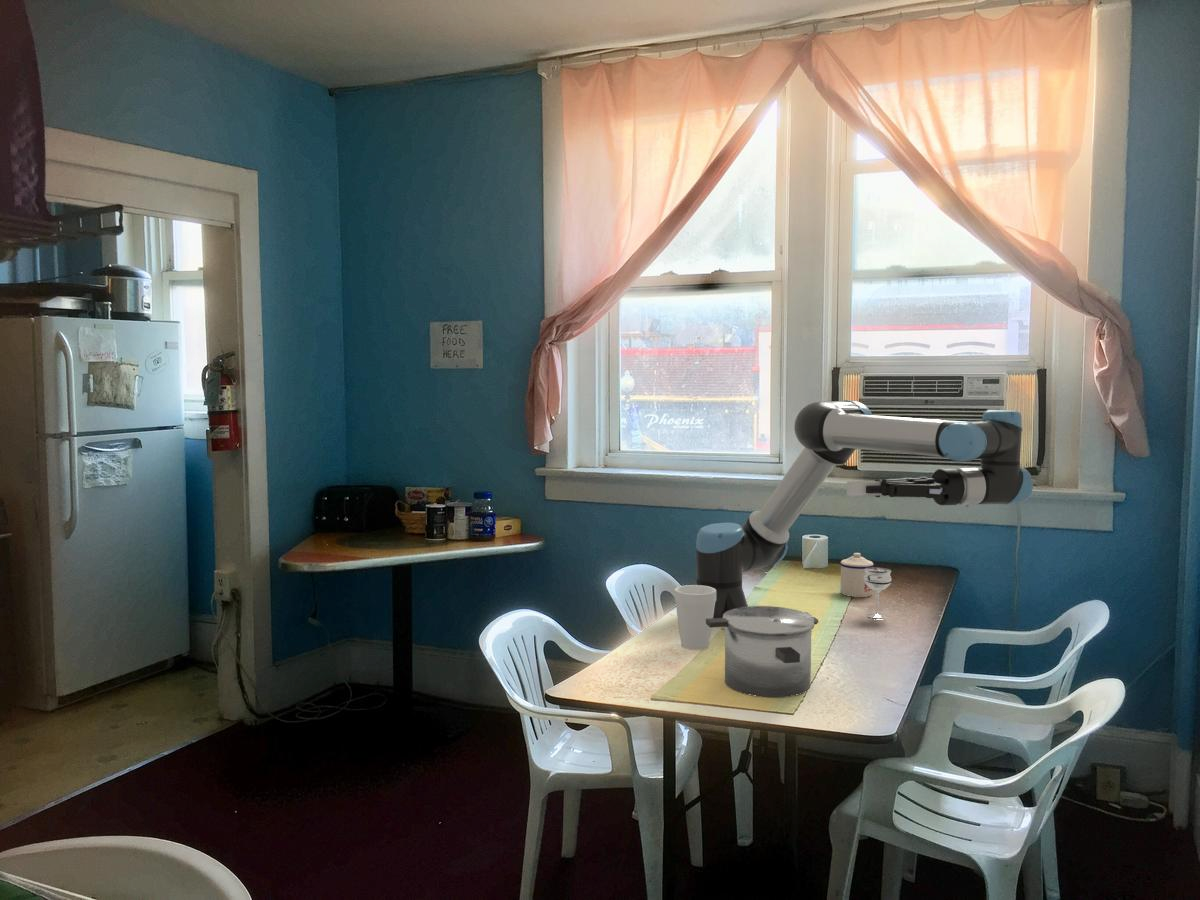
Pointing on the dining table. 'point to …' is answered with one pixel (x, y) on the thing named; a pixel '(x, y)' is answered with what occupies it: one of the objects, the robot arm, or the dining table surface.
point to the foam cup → (695, 614)
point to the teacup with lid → (855, 576)
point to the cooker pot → (767, 663)
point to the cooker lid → (765, 621)
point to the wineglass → (877, 583)
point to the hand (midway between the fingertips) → (848, 488)
